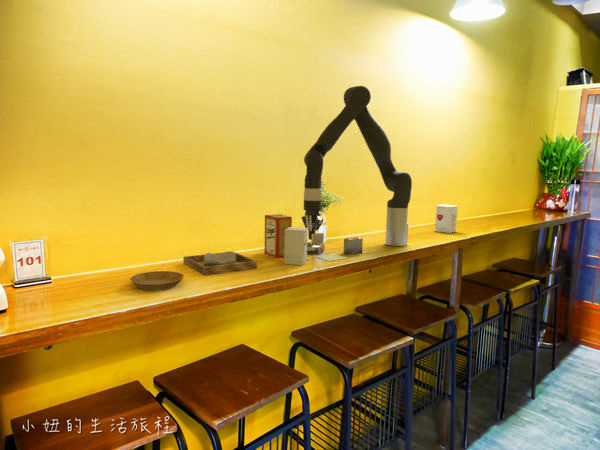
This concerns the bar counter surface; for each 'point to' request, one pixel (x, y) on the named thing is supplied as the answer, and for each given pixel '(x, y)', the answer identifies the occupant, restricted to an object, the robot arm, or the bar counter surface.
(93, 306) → the bar counter surface
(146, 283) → the plant saucer
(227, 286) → the bar counter surface
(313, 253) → the sprocket base
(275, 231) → the baking soda box
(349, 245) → the grey rectangular block
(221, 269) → the wooden tray
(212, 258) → the stone block
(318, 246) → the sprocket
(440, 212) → the supplement box
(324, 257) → the seat tile
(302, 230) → the supplement box
